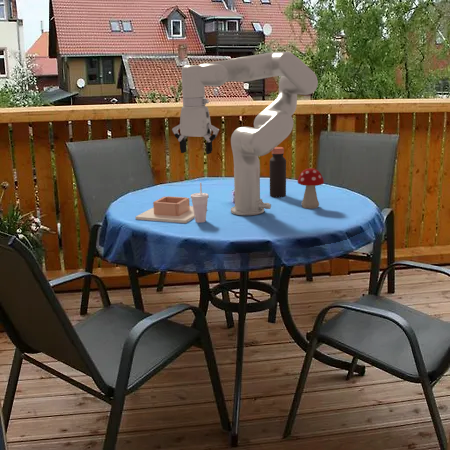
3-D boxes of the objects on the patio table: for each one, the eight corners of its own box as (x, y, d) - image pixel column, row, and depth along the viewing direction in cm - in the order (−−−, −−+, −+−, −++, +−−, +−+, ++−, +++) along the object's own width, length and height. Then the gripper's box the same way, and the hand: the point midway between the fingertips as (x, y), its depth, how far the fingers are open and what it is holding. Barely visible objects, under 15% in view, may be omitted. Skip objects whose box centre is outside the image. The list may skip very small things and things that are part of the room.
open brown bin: (207, 209, 230) (206, 195, 228) (185, 223, 212) (185, 208, 210) (160, 206, 236) (159, 192, 235) (135, 219, 218) (134, 204, 217)
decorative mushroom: (324, 204, 232) (325, 166, 228) (322, 210, 224) (322, 170, 220) (299, 203, 235) (299, 166, 231) (295, 209, 227) (295, 170, 223)
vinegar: (288, 196, 247) (289, 148, 242) (274, 198, 245) (274, 149, 239) (281, 193, 253) (281, 146, 248) (266, 195, 251) (266, 147, 245)
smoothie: (207, 223, 210) (205, 184, 206) (189, 223, 211) (187, 184, 208) (211, 219, 216) (210, 181, 212) (194, 218, 217) (192, 180, 214)
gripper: (221, 102, 203) (223, 152, 208) (176, 101, 210) (178, 150, 215) (212, 103, 197) (214, 155, 201) (166, 103, 203) (169, 153, 208)
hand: (196, 153), depth 208 cm, fingers open, 9 cm apart
